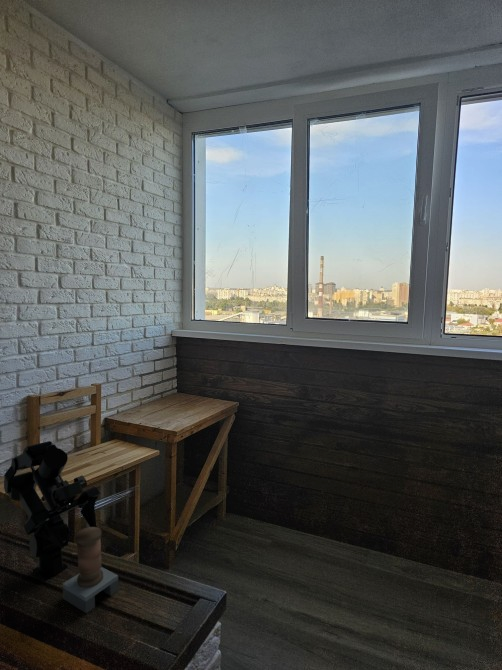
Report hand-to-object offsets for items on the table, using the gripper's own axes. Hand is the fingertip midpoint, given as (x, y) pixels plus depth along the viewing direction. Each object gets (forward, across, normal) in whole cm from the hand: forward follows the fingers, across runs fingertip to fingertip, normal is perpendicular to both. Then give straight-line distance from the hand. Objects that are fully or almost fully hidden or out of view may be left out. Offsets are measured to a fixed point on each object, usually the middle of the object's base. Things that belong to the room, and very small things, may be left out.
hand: (80, 538), depth 108 cm
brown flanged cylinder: (+9, 0, +4) cm, 10 cm away
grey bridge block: (+12, 0, +7) cm, 14 cm away
